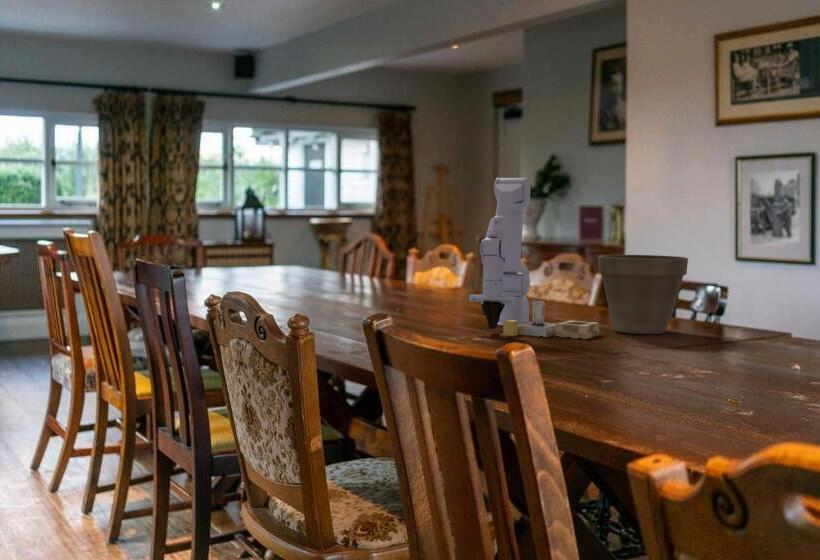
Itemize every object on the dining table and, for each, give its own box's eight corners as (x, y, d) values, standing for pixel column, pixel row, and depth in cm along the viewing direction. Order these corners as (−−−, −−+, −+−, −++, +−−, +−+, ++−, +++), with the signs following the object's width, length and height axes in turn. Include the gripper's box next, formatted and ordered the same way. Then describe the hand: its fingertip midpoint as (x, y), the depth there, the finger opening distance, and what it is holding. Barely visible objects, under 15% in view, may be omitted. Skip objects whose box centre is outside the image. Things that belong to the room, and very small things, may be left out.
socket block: (530, 330, 275) (530, 321, 274) (562, 332, 269) (562, 324, 269) (514, 334, 266) (514, 325, 266) (546, 337, 261) (546, 328, 260)
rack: (569, 332, 269) (569, 320, 269) (599, 335, 264) (599, 322, 264) (555, 336, 262) (555, 323, 262) (585, 339, 257) (585, 326, 256)
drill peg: (535, 332, 270) (536, 300, 269) (545, 333, 268) (546, 301, 267) (530, 333, 267) (530, 301, 266) (540, 334, 265) (541, 302, 265)
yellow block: (508, 333, 267) (508, 319, 266) (517, 334, 265) (518, 320, 265) (503, 335, 264) (503, 320, 264) (512, 336, 263) (512, 321, 262)
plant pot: (652, 324, 288) (654, 252, 286) (704, 334, 265) (706, 257, 263) (580, 327, 280) (581, 254, 278) (627, 339, 257) (628, 259, 255)
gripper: (463, 280, 267) (463, 328, 269) (509, 282, 259) (508, 332, 260) (476, 278, 273) (476, 325, 274) (521, 280, 265) (520, 329, 266)
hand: (492, 328), depth 268 cm, fingers closed
